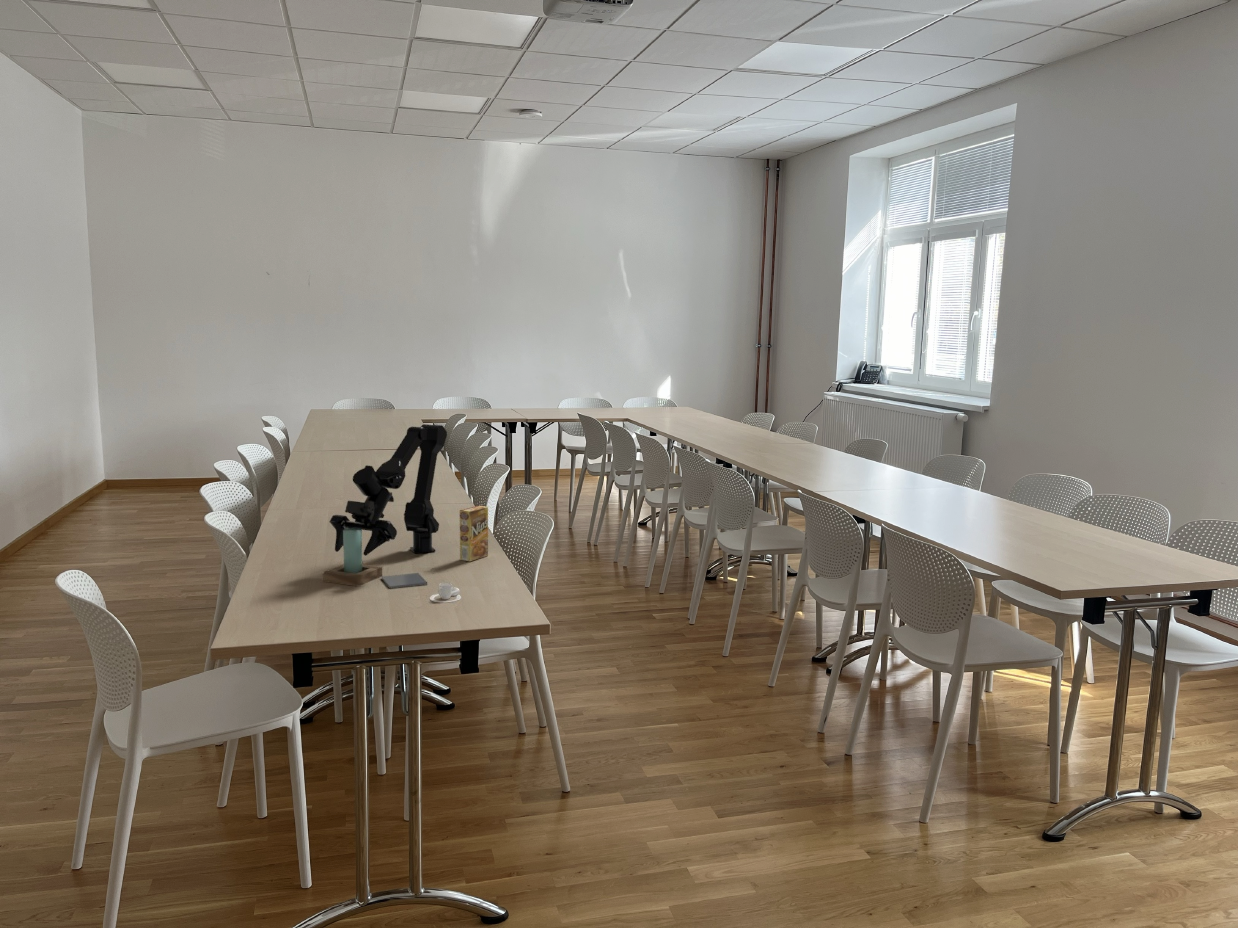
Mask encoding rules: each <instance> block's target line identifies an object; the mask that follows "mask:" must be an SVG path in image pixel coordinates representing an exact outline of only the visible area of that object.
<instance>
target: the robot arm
mask: <svg viewBox="0 0 1238 928" xmlns="http://www.w3.org/2000/svg"><path fill="white" fill-rule="evenodd" d="M447 436H448V432H447V430H446V428H445V426H443V425H442V424H441V425H438V424H427V423H426V424H425V423H424V424H422V425H421V426H410V427H408V428H407V430H406V433H405V436H404V437H403V439H402V440H401V442H400V443H399V445H398V447H397V448H396V450H395V451H394V453H393V454H392V456H391V458H390V459H389V460H386V461H385V462H383V463H381V465H380V466H378V468H377V469H376V470H375V469H374V466H372V465H365V466H364V468H361V469H359V470H357V472H356V471H355V472H356V473H354V474H353V476H352V482H353V484H354V485H355V486H356V487H357V488H358V490H359V491H360V492H361V494H362V495H363V496H365V497H366V499H365V500H364V502H363V501H362V502H361V501H354V500H347V502H346V506H345V510H344V512H345V513H346V514H347V513H348V514H350V516H351V518H352V519H353V520H354V521H352V520H350V519H349V518H348V516H347V515H344V514H343V515H342V514H334V515H332V516H331V518H330V519H329V524H331V526H332V527H333V528H334V529H335V534H336V535H335V543H334V551H335V552H336V553H337V552H339V551H340V550H341V549H343V548H342V547H343V530H345V529H350V528H358V529H361V530H362V531H370V532H371V535H370V538H369V540H368V542H367V543H366V546H365V548H364V550H363V552H362V555H364V557H366V556H368V555H369V554H370V553H372V552H373V551H374V550H376V549H377V548H379V547H380V546H382V545H384V544H385V543H387V542H390V540H392V541H393V540H395V538H396V537H397V534H398V530H397V529H396V527H395V526H394V525H393V524H392V521H390V520H385V519H384V517H385V514H384V510H385V508H386V506H387V505H388V502H389V503H394V501H395V499H394V496H393V492H391V491H389V489H390V490H391V489H392V490H397V489H400V488H401V486H402V485H403V482H404V481H405V478H406V477H407V476H406V468H407V467H408V464H409V463H410V462H411V460H412V458H413V456H414V455H415V453H416V451H418V448H419V450H420V458H419V462H418V470H417V475H416V481H415V482H416V483H415V488H414V495H413V498H412V499H411V501H409V502H408V501H407V502H406V503H405V508H404V513H403V521H404V525H405V529H406V531H407V532H412V546H410V547H409V549H410V551H411V552H413V553H414V554H423V553H425V554H426V553H435V552H436V548H434V547H433V534H436V533H438V531H439V528H440V523H439V522H438V521H437V519H436V517H435V516H434V511H435V510H434V507H433V504H432V502H431V497H432V496H431V495H432V489H433V484H434V479H435V473H436V472H435V470H436V465H437V458H438V454H439V453H440V452H441V451H442V449H443V448H444V447H445V444H446V440H447ZM382 519H383V520H382Z"/></svg>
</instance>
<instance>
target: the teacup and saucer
mask: <svg viewBox="0 0 1238 928" xmlns="http://www.w3.org/2000/svg"><path fill="white" fill-rule="evenodd" d="M438 587H439V588H438V589H437V593H434V594H432V595H431V596H429V600H430V601H432V602H433V603H434V602H435V603H441V604H443V603H444V604H447V603H454V602H458V601H459V600H461V599H462V596H461V595H460V589H459V588H458V587H455V586H454V587H453V583H451V582H440V583H439V585H438ZM436 597H440V598H441V599H442V600H437V599H435V598H436ZM451 597H456V598H455V599H453V600H450V599H451ZM443 600H447V601H443Z"/></svg>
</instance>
